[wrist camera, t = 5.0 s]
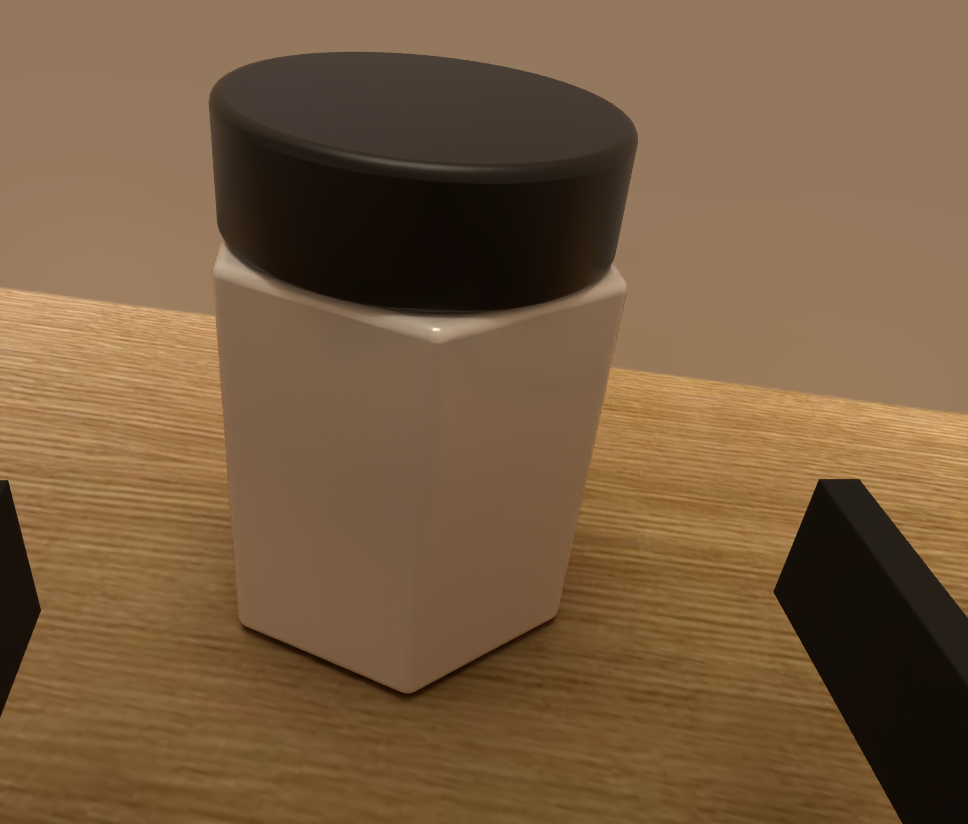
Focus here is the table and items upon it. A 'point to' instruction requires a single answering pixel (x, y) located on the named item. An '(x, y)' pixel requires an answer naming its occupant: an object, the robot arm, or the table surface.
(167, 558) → the table surface
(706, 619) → the table surface
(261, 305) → the jar
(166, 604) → the table surface
